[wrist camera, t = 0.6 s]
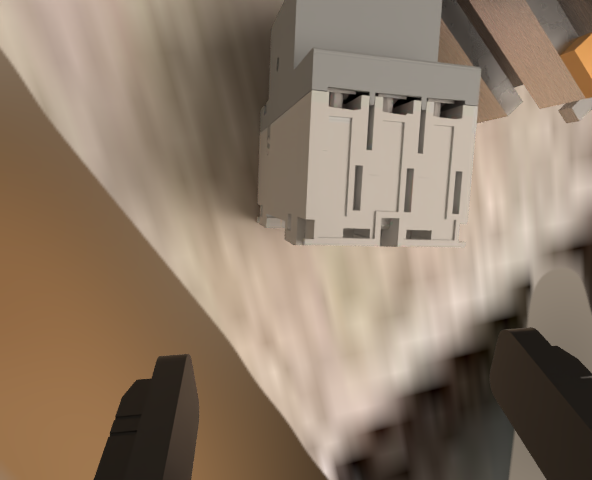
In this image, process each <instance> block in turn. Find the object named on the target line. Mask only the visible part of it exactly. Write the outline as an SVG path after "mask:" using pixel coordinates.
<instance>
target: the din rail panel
mask: <svg viewBox="0 0 592 480" xmlns="http://www.w3.org/2000/svg"><path fill="white" fill-rule="evenodd" d="M456 1H457V2H458V4H459V5H460V7H461V8H462V10H463V12H464V13H465V15H466V16H467V18H468V19H469V21H470V22H471V24H472V25H473V27H474V28H475V30H476V31H477V33H478V34H479V36H480V37H481V39H482V40H483V42H484V43H485V45H486V46H487V48H488V49H489V51H490V52H491V54H492V55H493V57H494V58H495V60H496V61H497V63H498V65H499V66H500V68H501V69H502V71H503V72H504V74H505V75H506V77H507V78H508V80H509V81H510V83H511V84H512V86H513V87H517V86H520V85H523V82H522V81H521V79H520V78H519V76H518V75H517V73H516V72H515V70H514V69H513V67H512V66H511V64H510V63H509V61H508V59H507V58H506V56H505V55H504V53H503V52H502V50H501V49H500V47H499V46H498V44H497V43H496V41H495V40H494V38H493V36H492V35H491V33H490V32H489V30H488V29H487V27H486V26H485V24H484V23H483V21H482V20H481V18H480V17H479V15H478V13H477V12H476V10H475V9H474V7H473V6H472V4H471V3H470V1H469V0H456ZM557 1H558V3H559V4H560V6H561V8H562V10H563V11H564V13H565V15H566V16H567V18H568V20H569V21H570V23H571V25H572V26H573V28H574V30H575V31H576V33H577V35H578V36H579V37H581V36H583V35H586V34H588V33H591V32H592V0H557ZM591 110H592V97H591V98H587V99H582V100H578V101H573V102H569V103H566V104H565V105H564V106H563V107H562V108H561V109H560V110H559V113H560V114H561V116H562V117H563V119H564V120H565V122H566V123H571V122H577V121H580V120H581V119H582V118H583V117H584V116H585V115H586V114H587V113H589V112H590V111H591Z"/></svg>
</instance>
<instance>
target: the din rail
mask: <svg viewBox="0 0 592 480" xmlns="http://www.w3.org/2000/svg"><path fill="white" fill-rule="evenodd" d="M469 1H470V3H471V4H472V6H473V7H474V9H475V10H476V12H477V13H478V15H479V17H480V18H481V20H482V21H483V23H484V24H485V26H486V27H487V29H488V30H489V32H490V33H491V35H492V36H493V38H494V40H495V41H496V43H497V44H498V46H499V47H500V49H501V50H502V52H503V53H504V55H505V56H506V58H507V59H508V61H509V63H510V64H511V66H512V67H513V69H514V70H515V72H516V73H517V75H518V76H519V78H520V79H521V81H522V82H523V84H524V86H525V87H526V89H527V90H528V92H529V93H530V95H531V96H532V98H533V99H534V101H535V102H536V104H537V105H538V107H539V108H540V109H542V108H547V107H551V106H556V105H560V104H565V103H569V102H573V101H578V100H582V99H587V98H591V97H592V32H591V33H588V34H586V35H583V36H581V37H579V36H578V35H577V33H576V31H575V30H574V28H573V26H572V25H571V23H570V21H569V20H568V18H567V16H566V15H565V13H564V11H563V10H562V8H561V6H560V4H559V3H558V1H557V0H469ZM438 62H441V63H450V64H458V65H466V66H475V67H480V68H481V80H480V91H479V103H478V114H477V123H480V122H484V121H489V120H493V119H497V118H502V117H506V116H508V115H509V114H511V113H512V112H513V111H514V110H515V109H516V108H517V107H518V106H519V105H520V104H521V103H522V102H523V101H522V99H521V98H520V96H519V95H518V93H517V92H516V90H515V89H514V87H513V86H512V84H511V83H510V81H509V80H508V78H507V77H506V75H505V74H504V72H503V71H502V69H501V68H500V66H499V65H498V63H497V61H496V60H495V58H494V57H493V55H492V54H491V52H490V51H489V49H488V48H487V46H486V45H485V43H484V42H483V40H482V39H481V37H480V36H479V34H478V33H477V31H476V30H475V28H474V27H473V25H472V24H471V22H470V21H469V19H468V18H467V16H466V15H465V13H464V12H463V10H462V8H461V7H460V5H459V4H458V2H457V1H456V0H442V10H441V23H440V37H439V51H438Z"/></svg>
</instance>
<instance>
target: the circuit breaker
mask: <svg viewBox="0 0 592 480" xmlns="http://www.w3.org/2000/svg"><path fill="white" fill-rule="evenodd" d="M441 10H442V0H284V2H283V4H282V7H281V9H280V11H279V13H278V15H277V17H276V19H275V22H274V24H273V26H272V28H271V51H270V77H269V100H268V101H267V103H266V105H264V106H263V108H262V109H261V112H260V140H259V169H258V198H257V204H258V205H260V216H257V223H260V225H262V226H264V227H265V228H285V240H286V241H288V242H290V243H291V244H293V245H330V246H392V247H453V248H466V242H459V230H460V224H468V215H469V203H470V192H471V181H472V170H473V159H474V147H475V136H476V125H477V114H478V103H479V91H480V80H481V68H480V67H475V66H466V65H458V64H450V63H441V62H438V51H439V37H440V23H441Z"/></svg>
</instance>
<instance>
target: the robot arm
mask: <svg viewBox="0 0 592 480" xmlns="http://www.w3.org/2000/svg"><path fill="white" fill-rule="evenodd" d="M489 378H490V386H491V390H492V393H493V395H494V397H495V399H496V401H497V402H498V404H499V405H500V407H501V408H502V410H503V412H504V413H505V415H506V416H507V418H508V419H509V421H510V423H511V424H512V426H513V427H514V429H515V431H516V432H517V434H518V435H519V437H520V438H521V440H522V441H523V443H524V445H525V446H526V448H527V449H528V451H529V453H530V454H531V456H532V457H533V459H534V460H535V462H536V464H537V465H538V467H539V468H540V470H541V471H542V473H543V474H544V476H545V478H546V479H547V480H592V373H591V372H590V371H589V370H588V369H587V368H586V367H585V366H584V365H583V364H582V363H581V362H580V361H579V360H578V359H577V358H575V357H574V356H572V355H571V354H569V353H568V352H566V351H564V350H563V349H561V348H560V347H558V346H551V345H550V344H549V342H548V341H547V340H546V339H545V338H544V337H543V336H542V335H541V334H540V333H539V332H538V331H537V330H536V329H534V328H518V329H506V330H502V331H501V332H500V333H499V336H498V340H497V344H496V348H495V353H494V357H493V361H492V366H491V370H490V377H489ZM198 423H199V401H198V394H197V389H196V383H195V377H194V372H193V366H192V360H191V356H190V355H189V354H184V355H170V356H159V357H158V359H157V362H156V365H155V368H154V372H153V376H152V379H141V380H136V381H135V382H134V384H133V385H132V386H131V387H130V388H129V390H128V391H127V392H126V393H125V395H124V396H123V397H122V399H121V402H120V405H119V408H118V411H117V414H116V419H115V420H114V422H113V425H112V428H111V431H110V437H108V440H107V443H106V446H105V448H104V451H103V454H102V457H101V460H100V463H99V466H98V469H97V472H96V475H95V478H94V480H191V476H192V468H193V461H194V454H195V446H196V439H197V431H198Z"/></svg>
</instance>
